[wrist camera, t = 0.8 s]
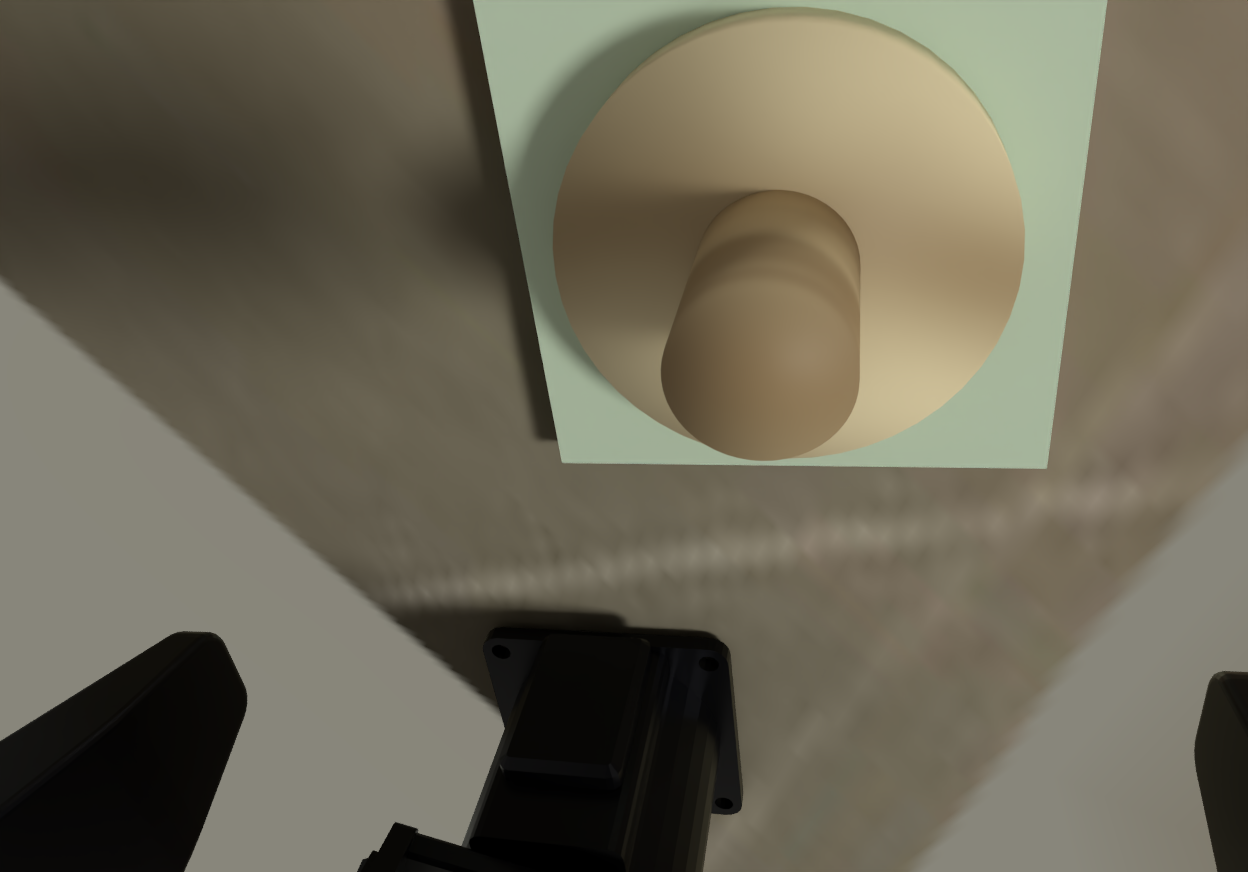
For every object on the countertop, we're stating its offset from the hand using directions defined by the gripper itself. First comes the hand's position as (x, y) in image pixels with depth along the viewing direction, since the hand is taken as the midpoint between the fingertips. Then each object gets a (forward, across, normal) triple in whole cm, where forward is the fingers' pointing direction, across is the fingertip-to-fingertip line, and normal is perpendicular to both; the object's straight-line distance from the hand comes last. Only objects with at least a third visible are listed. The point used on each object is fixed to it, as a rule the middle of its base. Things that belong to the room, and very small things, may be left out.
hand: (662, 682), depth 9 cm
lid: (+11, 0, 0) cm, 11 cm away
